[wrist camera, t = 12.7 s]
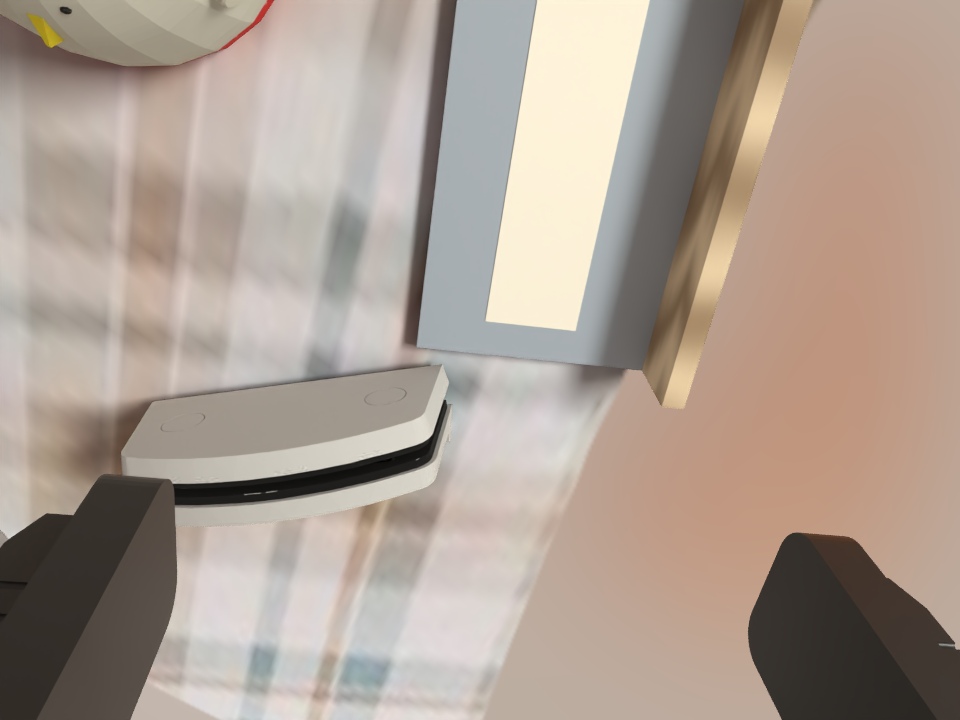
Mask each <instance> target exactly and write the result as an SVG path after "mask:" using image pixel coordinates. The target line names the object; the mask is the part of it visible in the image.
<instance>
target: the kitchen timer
mask: <svg viewBox="0 0 960 720" xmlns="http://www.w3.org/2000/svg"><path fill="white" fill-rule="evenodd" d="M273 1H274V0H0V14H1V15H3V16H4V17H6V18H8V19H10V20H12V21H13V22H15V23H17V24H19V25H20V26H22V27H24V28H26V29H28V30H29V31H31V32H33V33H35V34H37V35H38V36H40V37H41V38H42V39H43V41H44V43H45V44H46V45H47V46H48V47H50V48H52V47H54V46H58V47H60V48H62V49H64V50H67V51H69V52H72V53H76V54H80V55H84V56H87V57H91V58H95V59H99V60H102V61H106V62H110V63H114V64H117V65H122V66H165V65H179V64H182V63H186V62H189V61H191V60H194V59H197V58H200V57H203V56H206V55H208V54H211V53H214V52H217V51H220V50H222V49H225V48H228V47H229V46H230V45H231V44H233V43H234V42H235V41H236V40H238V39H239V38H240V37H241V36H243V35H244V34H245V33H246V32H248V31H249V30H250V29H251V28H253V27H254V26H255V25H256V24H258V23H259V22H260V21H261V20H262V18H263V17H264V15H265V14H266V12H267V10H268V9H269V7H270V6H271V4H272V3H273Z"/></svg>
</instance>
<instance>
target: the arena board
mask: <svg viewBox="0 0 960 720" xmlns="http://www.w3.org/2000/svg"><path fill="white" fill-rule="evenodd" d="M744 1H745V0H457V1H456V9H455V18H454V26H453V35H452V43H451V52H450V61H449V69H448V78H447V86H446V95H445V103H444V112H443V121H442V129H441V138H440V146H439V155H438V163H437V172H436V181H435V189H434V198H433V206H432V215H431V223H430V232H429V240H428V249H427V258H426V266H425V275H424V283H423V292H422V300H421V309H420V318H419V326H418V335H417V347H419V348H429V349H438V350H448V351H458V352H467V353H477V354H487V355H496V356H506V357H516V358H526V359H535V360H545V361H555V362H564V363H574V364H584V365H593V366H603V367H613V368H623V369H632V370H642V369H643V365H644V361H645V358H646V354H647V351H648V347H649V343H650V340H651V336H652V333H653V329H654V325H655V322H656V318H657V315H658V311H659V307H660V304H661V300H662V297H663V293H664V289H665V286H666V282H667V279H668V275H669V271H670V268H671V264H672V261H673V257H674V253H675V250H676V246H677V243H678V239H679V235H680V232H681V228H682V224H683V221H684V217H685V214H686V210H687V206H688V203H689V199H690V196H691V192H692V188H693V185H694V181H695V178H696V174H697V170H698V167H699V163H700V160H701V156H702V152H703V149H704V145H705V142H706V138H707V134H708V131H709V127H710V124H711V120H712V116H713V113H714V109H715V106H716V102H717V98H718V95H719V91H720V88H721V84H722V80H723V77H724V73H725V70H726V66H727V62H728V59H729V55H730V52H731V48H732V44H733V41H734V37H735V34H736V30H737V26H738V23H739V19H740V16H741V12H742V8H743V5H744Z"/></svg>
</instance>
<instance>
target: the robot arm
mask: <svg viewBox="0 0 960 720" xmlns="http://www.w3.org/2000/svg"><path fill="white" fill-rule="evenodd" d="M176 585H177V556H176V527H175V497H174V487H173V484H172V482H171V480H170V479H162V478H150V477H138V476H126V475H114V474H104V475H102V476H100V477H99V478H98V480H97V481H96V482H95V484H94V485H93V487H92V488H91V490H90V491H89V493H88V494H87V496H86V497H85V499H84V500H83V502H82V503H81V505H80V506H79V508H78V509H77V511H76V512H75V514H74V515H61V514H48V513H47V514H45V515H44V516H42V517H41V518H39V519H38V520H36V521H35V522H33V523H32V524H30V525H29V526H28V527H26V528H25V529H23V530H22V531H20V532H19V533H17V534H16V535H14V536H13V537H11V538H10V539H8V538H7V537H6V536H5V534H4V533H3V532H2V531H1V530H0V720H130V719H131V716H132V714H133V711H134V709H135V706H136V704H137V701H138V699H139V696H140V694H141V691H142V689H143V686H144V684H145V682H146V679H147V677H148V674H149V672H150V669H151V667H152V664H153V662H154V659H155V657H156V654H157V652H158V649H159V647H160V644H161V642H162V639H163V637H164V634H165V632H166V629H167V626H168V624H169V620H170V617H171V613H172V609H173V605H174V599H175V593H176ZM748 639H749V647H750V652H751V655H752V659H753V661H754V664H755V666H756V668H757V670H758V672H759V674H760V676H761V678H762V680H763V682H764V684H765V686H766V688H767V690H768V692H769V694H770V696H771V698H772V700H773V702H774V704H775V706H776V708H777V710H778V712H779V714H780V716H781V719H782V720H960V650H956V649H955V646H954V645H955V642H954V641H953V640H952V639H951V638H950V636H949V635H948V634H947V633H946V631H945V630H944V629H943V628H942V627H941V625H940V624H939V623H938V622H937V620H936V619H935V618H934V617H933V616H932V615H931V613H930V612H929V611H928V610H927V608H925V607H924V606H923V605H922V604H920V603H919V602H918V601H917V600H915V599H914V598H913V597H912V596H910V595H909V594H908V593H907V592H905V591H904V590H903V589H902V588H900V587H899V586H898V585H897V584H895V583H894V582H893V581H892V580H890V579H889V578H886V577H885V576H884V575H883V573H882V572H881V571H880V569H879V568H878V567H877V566H876V564H875V563H874V562H873V561H872V559H871V558H870V557H869V556H868V554H867V553H866V552H865V551H864V549H863V548H862V547H861V546H860V545H859V543H858V542H856V541H855V540H854V539H852V538H850V537H845V536H833V535H819V534H808V533H792V534H790V535H788V536H787V537H786V538H785V539H784V541H783V542H782V544H781V546H780V548H779V551H778V553H777V555H776V558H775V560H774V562H773V565H772V567H771V569H770V571H769V574H768V576H767V579H766V581H765V583H764V585H763V588H762V590H761V592H760V595H759V597H758V599H757V602H756V604H755V606H754V608H753V611H752V613H751V616H750V621H749V627H748Z"/></svg>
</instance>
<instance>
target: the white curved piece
mask: <svg viewBox="0 0 960 720" xmlns="http://www.w3.org/2000/svg"><path fill="white" fill-rule="evenodd" d="M448 384H449V381H448V379H447V376H446V374H445V371H444V368H443V366H442V364H441V365H433V366H425V367H418V368H410V369H402V370H394V371H386V372H379V373H371V374H363V375H355V376H347V377H340V378H332V379H324V380H316V381H309V382H301V383H293V384H285V385H277V386H270V387H262V388H254V389H246V390H238V391H231V392H223V393H215V394H207V395H200V396H192V397H184V398H176V399H168V400H161V401H153V402H152V403H151V405H150V407H149V408H148V410H147V411H146V413H145V415H144V416H143V418H142V419H141V421H140V422H139V424H138V426H137V427H136V429H135V430H134V432H133V434H132V435H131V437H130V438H129V440H128V442H127V443H126V445H125V446H124V448H123V450H122V451H121V463H122V475H126V476H138V477H150V478H162V479H170V480H171V482H172V484H173V487H174V497H175V526H192V527H211V526H237V525H251V524H262V523H272V522H279V521H286V520H293V519H300V518H306V517H312V516H319V515H323V514H328V513H333V512H338V511H343V510H347V509H351V508H356V507H360V506H364V505H369V504H372V503H376V502H380V501H383V500H387V499H390V498H394V497H397V496H400V495H404V494H407V493H410V492H413V491H416V490H419V489H422V488H425V487H427V486H429V485H430V484H431V483H433V482H434V481H435V479H436V476H437V472H438V469H439V465H440V462H441V458H442V454H443V451H444V447H445V444H446V442H450V438H451V419H452V404H448V405H447V404H446V400H444V397H445V394H446V391H447V388H448Z"/></svg>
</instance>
